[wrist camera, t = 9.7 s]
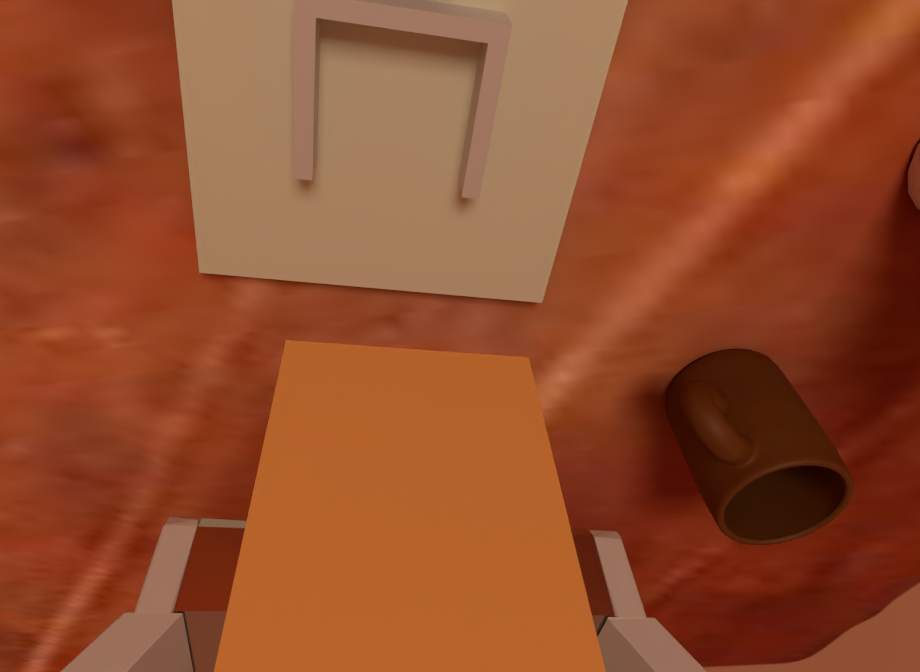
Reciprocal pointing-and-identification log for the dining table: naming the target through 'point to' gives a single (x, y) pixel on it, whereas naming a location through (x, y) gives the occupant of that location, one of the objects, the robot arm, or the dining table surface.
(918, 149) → the bottle
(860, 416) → the dining table surface
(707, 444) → the mug
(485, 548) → the orange rectangular block
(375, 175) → the mount deck
